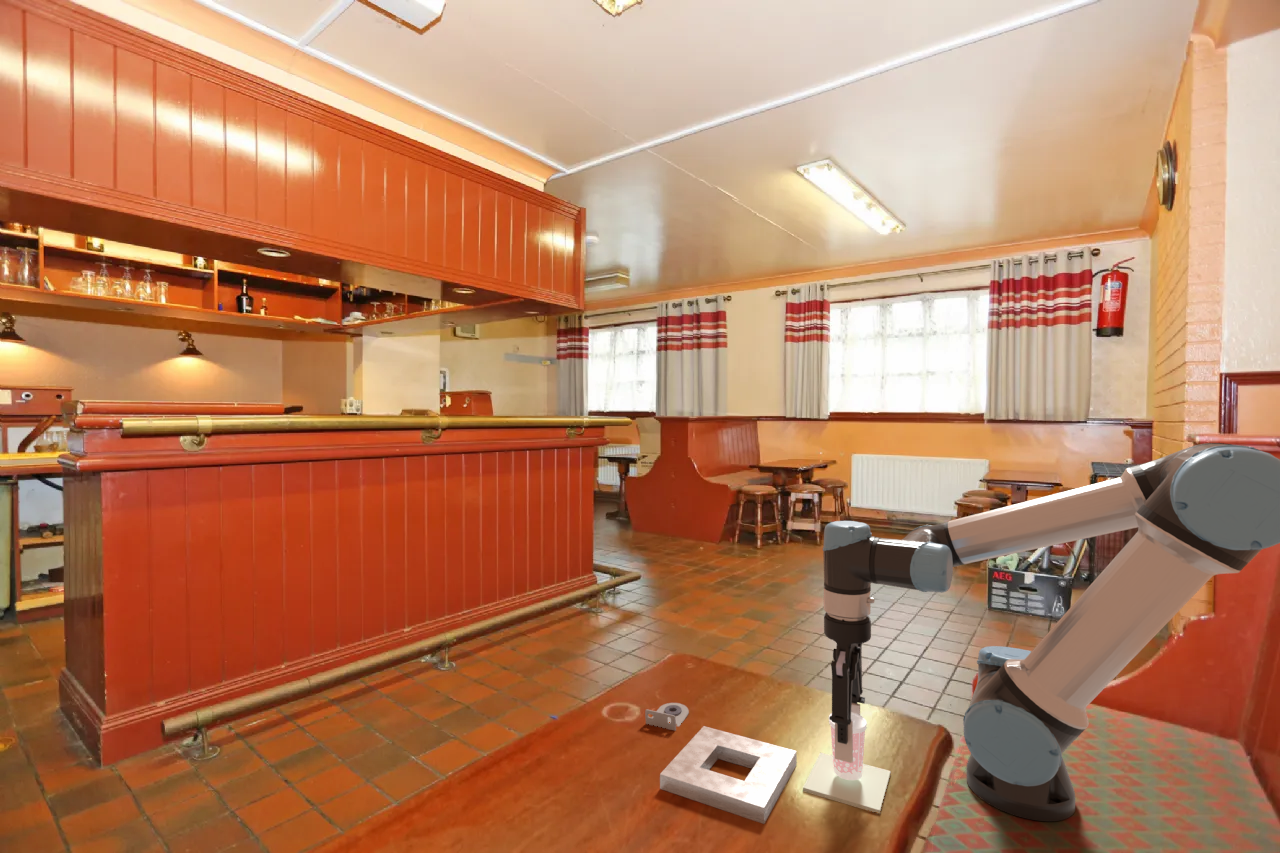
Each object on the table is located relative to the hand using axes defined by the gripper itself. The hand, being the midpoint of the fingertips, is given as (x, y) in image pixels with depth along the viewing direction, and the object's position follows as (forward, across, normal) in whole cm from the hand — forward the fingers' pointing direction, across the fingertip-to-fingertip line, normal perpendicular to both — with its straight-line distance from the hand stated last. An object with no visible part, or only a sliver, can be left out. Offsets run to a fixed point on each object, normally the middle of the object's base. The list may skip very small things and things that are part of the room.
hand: (848, 749), depth 102 cm
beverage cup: (+4, 0, 0) cm, 4 cm away
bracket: (+6, +5, +37) cm, 38 cm away
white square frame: (+6, -8, +18) cm, 21 cm away
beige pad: (+6, 0, 0) cm, 6 cm away
